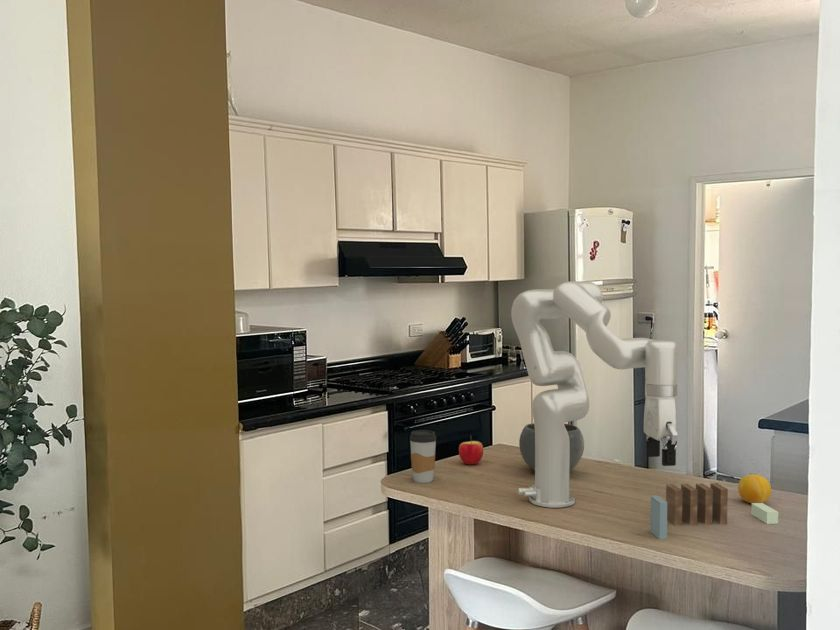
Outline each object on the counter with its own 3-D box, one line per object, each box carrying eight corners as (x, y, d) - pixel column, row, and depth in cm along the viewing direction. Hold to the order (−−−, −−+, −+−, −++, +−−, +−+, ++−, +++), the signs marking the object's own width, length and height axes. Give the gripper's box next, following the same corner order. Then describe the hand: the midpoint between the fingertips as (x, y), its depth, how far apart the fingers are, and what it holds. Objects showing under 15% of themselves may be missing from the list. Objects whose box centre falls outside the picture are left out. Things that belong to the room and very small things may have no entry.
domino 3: (690, 524, 204) (690, 490, 204) (680, 517, 210) (681, 483, 210) (696, 524, 204) (697, 490, 204) (687, 517, 210) (687, 483, 210)
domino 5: (720, 524, 205) (721, 489, 204) (709, 516, 211) (710, 483, 210) (727, 523, 205) (727, 489, 204) (716, 516, 211) (717, 483, 210)
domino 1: (659, 539, 193) (660, 502, 193) (650, 531, 199) (650, 495, 199) (666, 539, 193) (667, 502, 193) (657, 531, 199) (657, 495, 199)
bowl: (589, 481, 247) (590, 433, 246) (523, 480, 247) (523, 432, 246) (577, 465, 267) (578, 420, 266) (516, 465, 267) (516, 420, 266)
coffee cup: (441, 479, 249) (441, 431, 248) (427, 485, 242) (427, 436, 241) (418, 475, 253) (418, 428, 252) (404, 481, 246) (404, 433, 245)
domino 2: (674, 525, 204) (675, 490, 203) (665, 518, 210) (666, 484, 209) (681, 525, 204) (682, 490, 203) (672, 517, 210) (672, 484, 209)
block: (766, 523, 205) (767, 512, 205) (751, 514, 213) (751, 503, 213) (778, 523, 205) (778, 512, 205) (762, 514, 213) (762, 503, 213)
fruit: (731, 500, 226) (731, 472, 225) (752, 497, 229) (753, 469, 228) (755, 509, 218) (756, 480, 217) (777, 505, 221) (778, 477, 220)
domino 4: (705, 524, 204) (705, 489, 204) (695, 517, 210) (695, 483, 210) (712, 524, 205) (712, 489, 204) (701, 517, 211) (702, 483, 210)
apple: (457, 466, 265) (457, 436, 265) (460, 460, 274) (460, 431, 273) (482, 467, 264) (482, 437, 263) (484, 461, 272) (484, 432, 272)
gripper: (633, 386, 202) (633, 453, 203) (659, 396, 185) (659, 469, 186) (662, 386, 203) (662, 452, 204) (691, 395, 186) (690, 468, 187)
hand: (660, 460), depth 195 cm, fingers open, 9 cm apart
